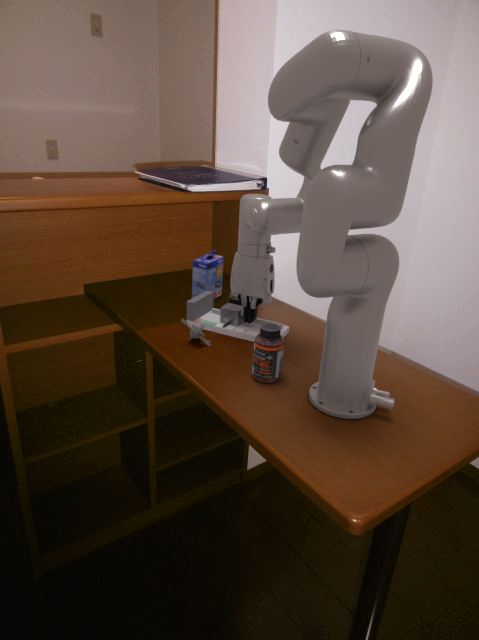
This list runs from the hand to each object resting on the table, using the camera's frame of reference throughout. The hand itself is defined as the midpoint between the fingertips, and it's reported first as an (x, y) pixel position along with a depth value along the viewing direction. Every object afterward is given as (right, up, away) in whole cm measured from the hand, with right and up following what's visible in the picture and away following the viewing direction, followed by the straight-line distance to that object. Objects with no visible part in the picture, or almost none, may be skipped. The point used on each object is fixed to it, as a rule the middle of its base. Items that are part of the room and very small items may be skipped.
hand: (249, 321), depth 113 cm
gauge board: (-3, -2, +2) cm, 4 cm away
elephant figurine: (-13, -5, -6) cm, 15 cm away
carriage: (-5, -1, +1) cm, 5 cm away
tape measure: (-2, +3, +16) cm, 16 cm away
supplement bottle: (+3, -12, -20) cm, 23 cm away
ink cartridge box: (-12, +7, +23) cm, 27 cm away
